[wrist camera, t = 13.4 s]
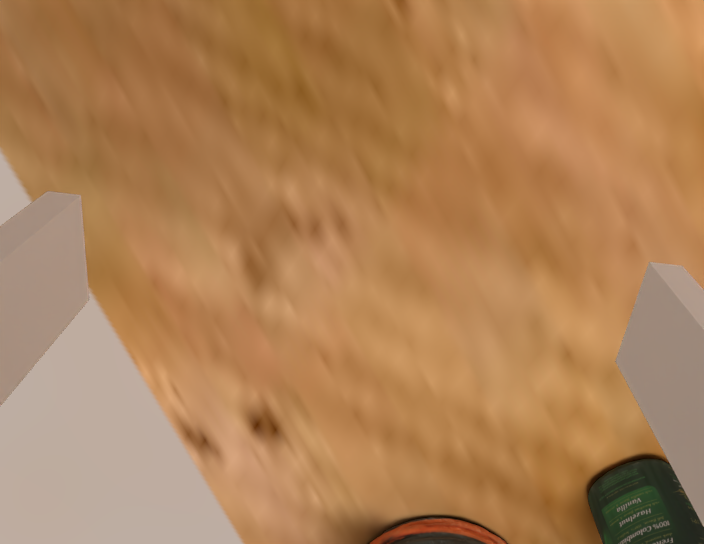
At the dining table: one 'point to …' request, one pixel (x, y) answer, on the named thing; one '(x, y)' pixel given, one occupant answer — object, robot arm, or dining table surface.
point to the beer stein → (437, 533)
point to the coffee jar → (644, 506)
